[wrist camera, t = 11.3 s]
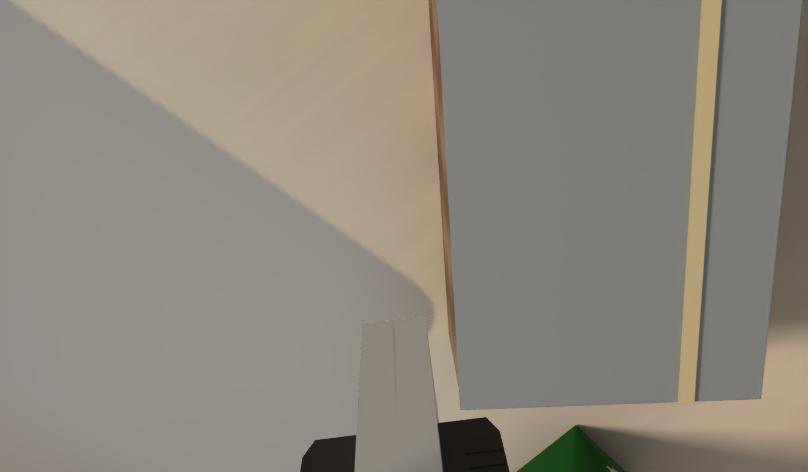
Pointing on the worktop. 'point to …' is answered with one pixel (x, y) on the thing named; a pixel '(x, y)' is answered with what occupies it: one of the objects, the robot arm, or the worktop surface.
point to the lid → (614, 195)
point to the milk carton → (572, 456)
